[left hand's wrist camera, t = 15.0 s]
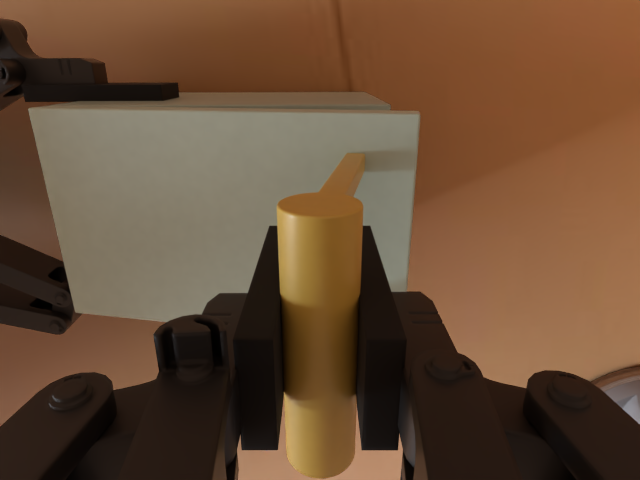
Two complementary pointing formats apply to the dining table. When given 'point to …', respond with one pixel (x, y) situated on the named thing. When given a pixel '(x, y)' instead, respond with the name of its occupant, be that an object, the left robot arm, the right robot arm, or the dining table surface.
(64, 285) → the right robot arm
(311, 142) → the lid
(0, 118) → the dining table surface
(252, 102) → the chest
